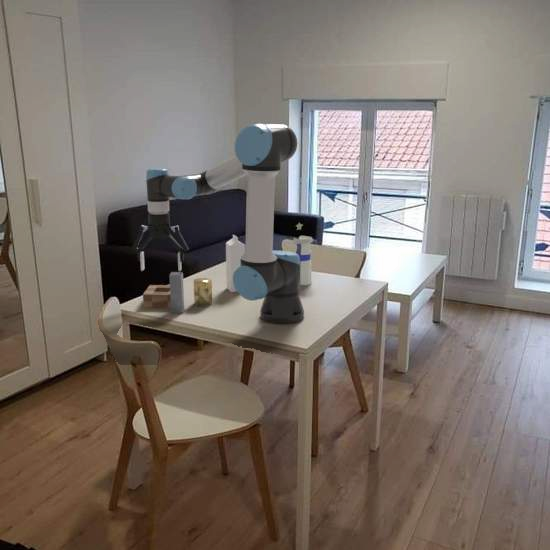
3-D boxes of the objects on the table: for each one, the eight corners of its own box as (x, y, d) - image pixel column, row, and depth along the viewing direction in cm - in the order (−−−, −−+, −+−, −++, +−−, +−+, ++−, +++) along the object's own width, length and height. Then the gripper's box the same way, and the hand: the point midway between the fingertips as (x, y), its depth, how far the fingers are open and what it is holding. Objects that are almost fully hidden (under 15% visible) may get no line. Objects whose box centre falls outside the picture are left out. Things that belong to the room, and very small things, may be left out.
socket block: (176, 307, 205) (176, 294, 203) (143, 307, 204) (142, 294, 203) (181, 297, 216) (181, 285, 215) (150, 297, 216) (149, 285, 215)
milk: (240, 286, 231) (240, 233, 225) (245, 290, 225) (245, 236, 219) (226, 288, 228) (225, 234, 223) (230, 292, 223) (230, 237, 217)
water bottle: (287, 283, 236) (288, 224, 229) (300, 278, 242) (301, 221, 236) (303, 286, 231) (304, 226, 224) (315, 282, 237) (317, 223, 230)
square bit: (182, 313, 199) (180, 275, 195) (171, 313, 199) (169, 275, 195) (184, 309, 203) (182, 272, 199) (173, 309, 203) (171, 272, 199)
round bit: (211, 306, 206) (210, 282, 204) (193, 306, 206) (192, 282, 204) (213, 300, 213) (212, 277, 210) (195, 300, 213) (194, 277, 210)
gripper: (195, 211, 205) (196, 267, 211) (126, 210, 205) (129, 266, 211) (192, 214, 198) (194, 272, 203) (121, 213, 198) (124, 272, 203)
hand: (161, 270), depth 207 cm, fingers open, 13 cm apart
